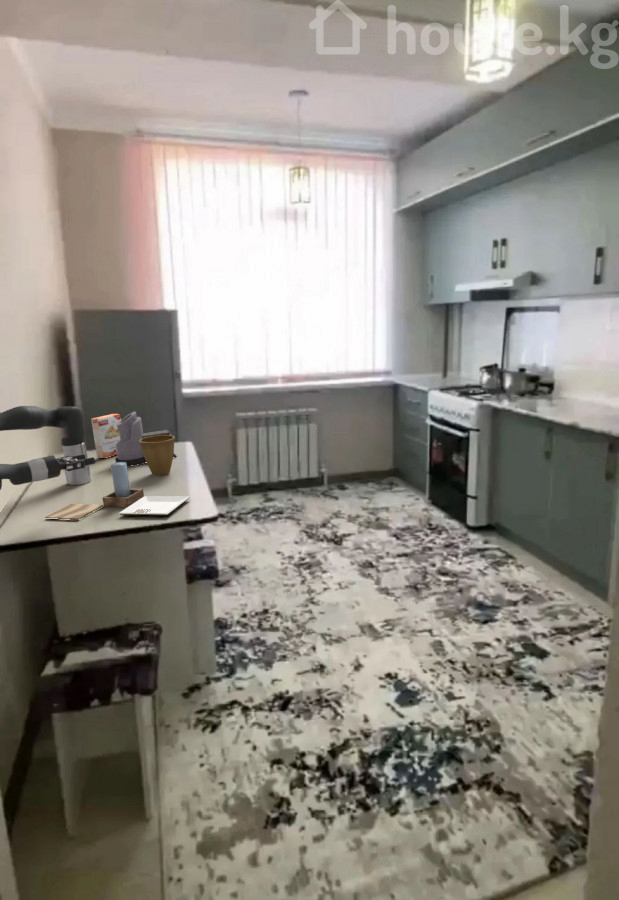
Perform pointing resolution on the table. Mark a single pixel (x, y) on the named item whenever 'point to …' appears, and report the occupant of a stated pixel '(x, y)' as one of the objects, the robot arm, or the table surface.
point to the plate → (155, 505)
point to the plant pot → (158, 453)
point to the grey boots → (133, 440)
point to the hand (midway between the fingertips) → (89, 458)
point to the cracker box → (106, 434)
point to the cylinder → (120, 479)
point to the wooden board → (74, 511)
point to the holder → (121, 501)
